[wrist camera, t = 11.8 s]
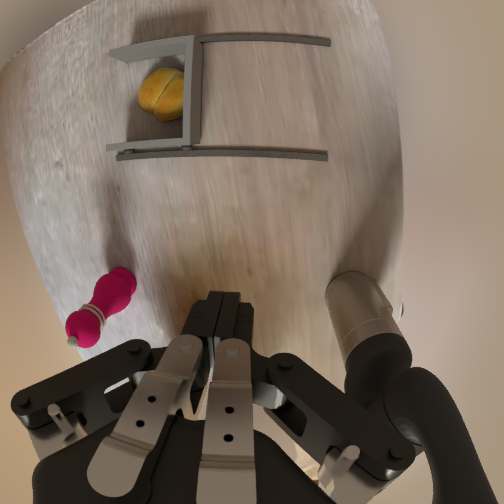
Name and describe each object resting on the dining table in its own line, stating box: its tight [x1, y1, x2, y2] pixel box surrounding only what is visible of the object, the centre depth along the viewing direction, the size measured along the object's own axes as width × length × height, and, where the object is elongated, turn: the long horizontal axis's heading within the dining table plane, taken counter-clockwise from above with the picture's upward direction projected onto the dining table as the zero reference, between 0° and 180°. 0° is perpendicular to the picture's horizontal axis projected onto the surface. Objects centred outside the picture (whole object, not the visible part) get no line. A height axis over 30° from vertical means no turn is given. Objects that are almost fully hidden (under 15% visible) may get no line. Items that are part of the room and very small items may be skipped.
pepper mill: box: [65, 267, 136, 348], centre depth 42 cm, size 7×7×20 cm
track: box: [116, 35, 331, 161], centre depth 37 cm, size 34×20×1 cm, turn 89°
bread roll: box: [138, 67, 184, 122], centre depth 36 cm, size 8×9×4 cm
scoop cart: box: [106, 35, 203, 154], centre depth 35 cm, size 13×18×6 cm
